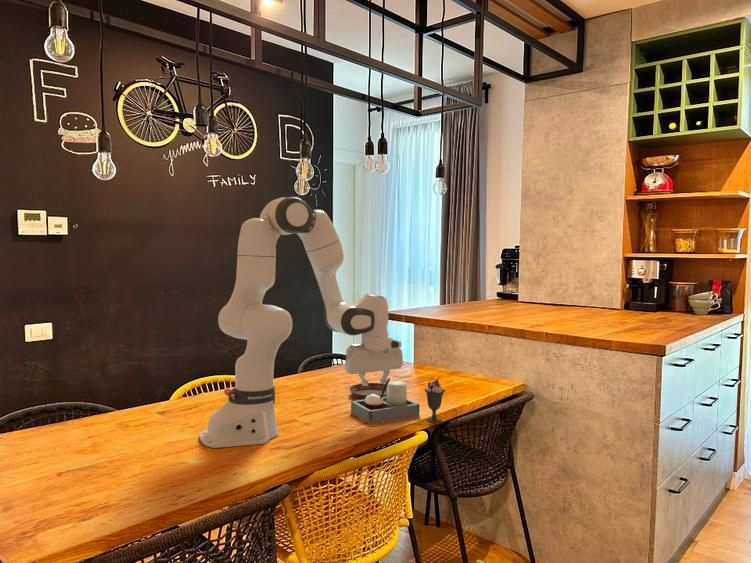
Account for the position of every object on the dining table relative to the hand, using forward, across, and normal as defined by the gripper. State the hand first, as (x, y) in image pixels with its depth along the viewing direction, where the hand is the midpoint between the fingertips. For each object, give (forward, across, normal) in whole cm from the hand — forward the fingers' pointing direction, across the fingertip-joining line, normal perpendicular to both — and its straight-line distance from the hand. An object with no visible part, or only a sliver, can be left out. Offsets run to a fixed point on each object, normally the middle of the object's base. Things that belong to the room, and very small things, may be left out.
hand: (374, 384), depth 186 cm
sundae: (+11, +15, -13) cm, 23 cm away
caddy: (+11, +4, 0) cm, 12 cm away
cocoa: (+10, 0, 0) cm, 10 cm away
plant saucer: (+11, +12, +23) cm, 28 cm away
